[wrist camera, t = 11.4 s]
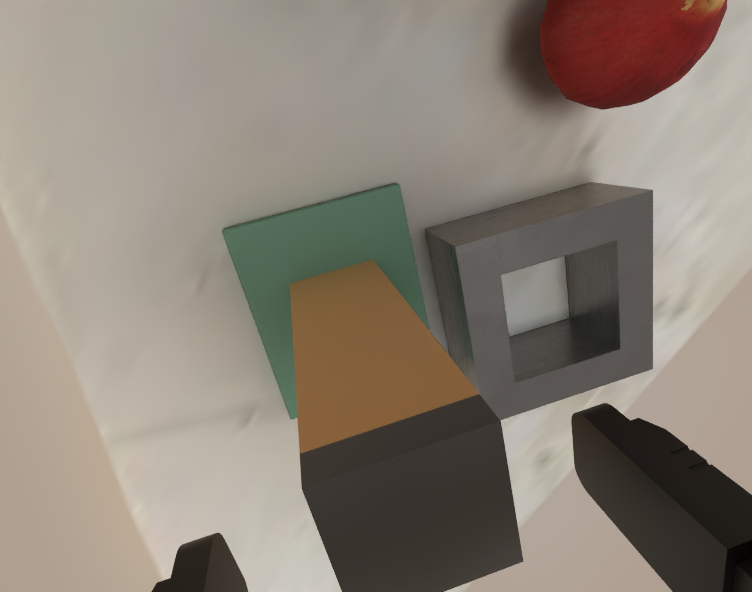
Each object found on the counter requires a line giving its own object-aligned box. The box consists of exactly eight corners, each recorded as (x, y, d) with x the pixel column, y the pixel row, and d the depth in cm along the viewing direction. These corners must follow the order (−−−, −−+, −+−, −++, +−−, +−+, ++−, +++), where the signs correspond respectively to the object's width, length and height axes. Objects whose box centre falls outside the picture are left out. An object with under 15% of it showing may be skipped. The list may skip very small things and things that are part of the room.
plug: (289, 283, 20) (301, 488, 8) (373, 258, 21) (500, 420, 9) (314, 357, 22) (355, 625, 10) (391, 333, 22) (523, 561, 10)
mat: (224, 228, 20) (221, 231, 19) (394, 182, 21) (399, 184, 20) (290, 410, 23) (290, 419, 23) (433, 365, 24) (438, 372, 23)
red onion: (624, -38, 19) (835, -149, 12) (619, 103, 21) (797, 82, 14) (501, -23, 19) (646, -131, 11) (508, 122, 21) (634, 110, 13)
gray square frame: (425, 229, 22) (455, 246, 18) (591, 182, 23) (652, 189, 19) (455, 382, 25) (485, 425, 21) (599, 336, 26) (652, 368, 22)
